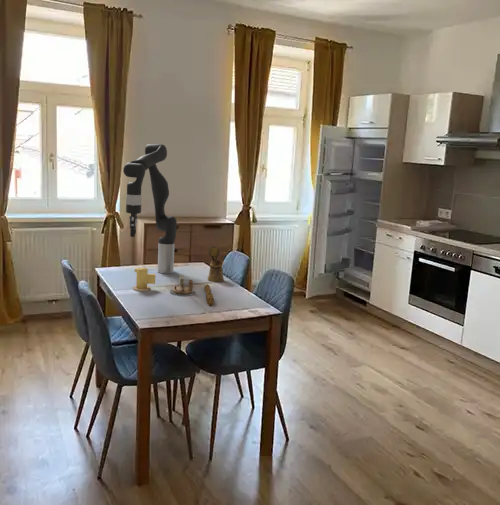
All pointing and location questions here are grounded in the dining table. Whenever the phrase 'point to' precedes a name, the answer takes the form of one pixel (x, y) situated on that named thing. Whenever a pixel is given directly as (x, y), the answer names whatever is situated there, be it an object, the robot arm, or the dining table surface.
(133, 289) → the coaster
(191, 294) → the stand base
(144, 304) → the dining table surface
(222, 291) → the dining table surface
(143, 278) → the cylinder with side tabs
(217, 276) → the wooden mug
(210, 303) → the tap handle
